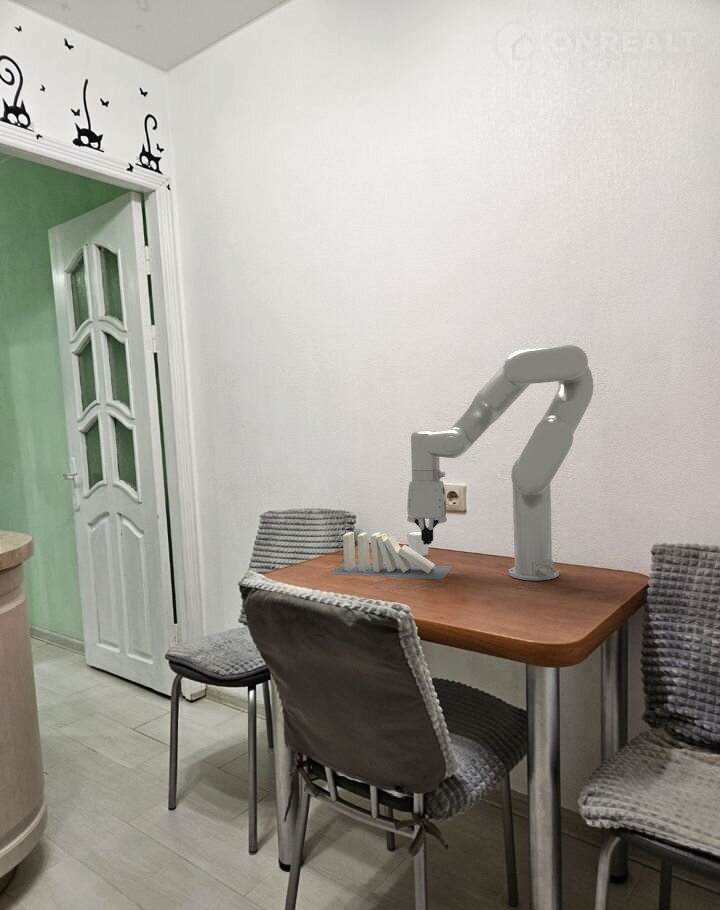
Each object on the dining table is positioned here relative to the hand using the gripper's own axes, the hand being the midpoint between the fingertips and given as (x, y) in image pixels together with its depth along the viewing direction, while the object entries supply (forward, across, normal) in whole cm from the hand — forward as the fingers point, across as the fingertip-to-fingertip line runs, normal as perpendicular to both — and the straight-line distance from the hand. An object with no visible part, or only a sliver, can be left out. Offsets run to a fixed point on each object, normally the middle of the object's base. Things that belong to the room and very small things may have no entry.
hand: (427, 543), depth 176 cm
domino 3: (+8, +14, 0) cm, 16 cm away
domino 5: (+7, +6, 0) cm, 9 cm away
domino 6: (+7, -1, 0) cm, 7 cm away
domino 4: (+8, +10, 0) cm, 12 cm away
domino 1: (+8, +23, 0) cm, 24 cm away
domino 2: (+8, +18, 0) cm, 20 cm away
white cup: (+8, +8, -21) cm, 24 cm away
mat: (+8, +10, 0) cm, 13 cm away
